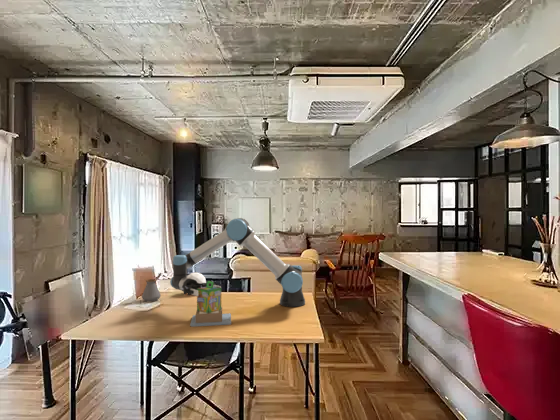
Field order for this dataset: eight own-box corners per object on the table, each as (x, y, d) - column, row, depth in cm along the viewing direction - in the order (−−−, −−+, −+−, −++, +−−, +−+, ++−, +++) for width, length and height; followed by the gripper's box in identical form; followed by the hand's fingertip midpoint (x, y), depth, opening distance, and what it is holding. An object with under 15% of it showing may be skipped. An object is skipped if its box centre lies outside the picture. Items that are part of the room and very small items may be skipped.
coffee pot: (156, 302, 243) (155, 278, 243) (138, 302, 245) (137, 278, 244) (169, 295, 264) (169, 272, 264) (153, 294, 266) (153, 272, 266)
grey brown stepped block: (230, 315, 213) (230, 305, 213) (231, 324, 197) (231, 313, 197) (192, 317, 210) (192, 307, 210) (190, 326, 194) (190, 315, 194)
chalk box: (196, 310, 202) (196, 281, 202) (210, 307, 210) (209, 279, 210) (208, 313, 197) (208, 283, 197) (222, 309, 204) (221, 281, 204)
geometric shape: (200, 300, 271) (213, 281, 274) (192, 296, 257) (205, 277, 260) (185, 288, 276) (198, 270, 279) (176, 284, 262) (190, 266, 265)
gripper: (208, 288, 226) (229, 294, 211) (167, 295, 210) (187, 302, 194) (208, 275, 226) (229, 280, 211) (167, 281, 210) (187, 287, 194)
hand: (209, 291), depth 202 cm, fingers open, 13 cm apart
